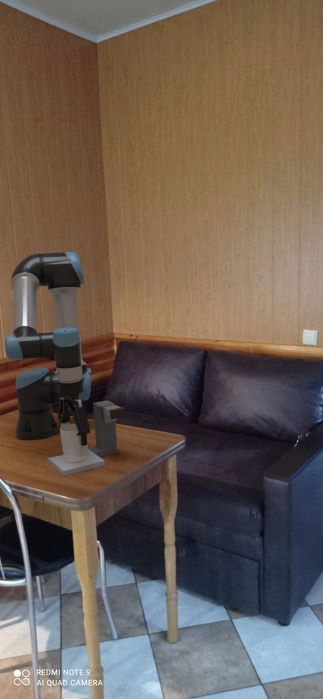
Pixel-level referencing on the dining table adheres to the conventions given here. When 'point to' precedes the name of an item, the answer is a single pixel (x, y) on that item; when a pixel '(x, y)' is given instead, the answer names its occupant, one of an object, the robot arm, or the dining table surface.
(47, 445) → the dining table surface
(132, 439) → the dining table surface
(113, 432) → the frame
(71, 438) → the white cup
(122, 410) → the handle
